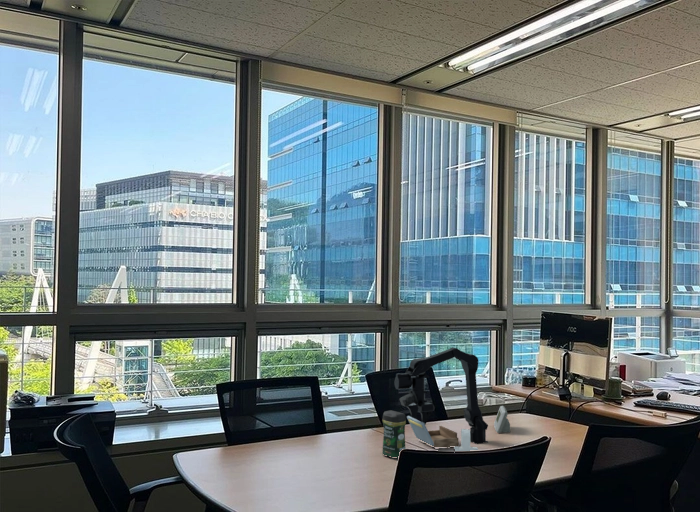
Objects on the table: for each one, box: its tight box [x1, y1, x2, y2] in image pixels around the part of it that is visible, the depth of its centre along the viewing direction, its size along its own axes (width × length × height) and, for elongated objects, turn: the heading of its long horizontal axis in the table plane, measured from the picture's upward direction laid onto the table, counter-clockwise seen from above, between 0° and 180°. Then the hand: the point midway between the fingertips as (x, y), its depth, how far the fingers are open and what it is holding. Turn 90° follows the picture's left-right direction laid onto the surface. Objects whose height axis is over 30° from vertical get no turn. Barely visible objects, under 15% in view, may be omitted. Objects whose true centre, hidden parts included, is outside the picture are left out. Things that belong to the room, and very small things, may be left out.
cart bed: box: [428, 425, 459, 447], centre depth 276 cm, size 11×16×6 cm
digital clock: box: [493, 405, 511, 434], centre depth 302 cm, size 16×9×11 cm, turn 159°
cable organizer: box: [453, 428, 479, 451], centre depth 261 cm, size 5×10×10 cm, turn 84°
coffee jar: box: [381, 409, 407, 458], centre depth 256 cm, size 10×8×19 cm
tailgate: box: [406, 415, 434, 446], centre depth 272 cm, size 1×15×11 cm, turn 22°
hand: (418, 423), depth 272 cm, fingers open, 9 cm apart
